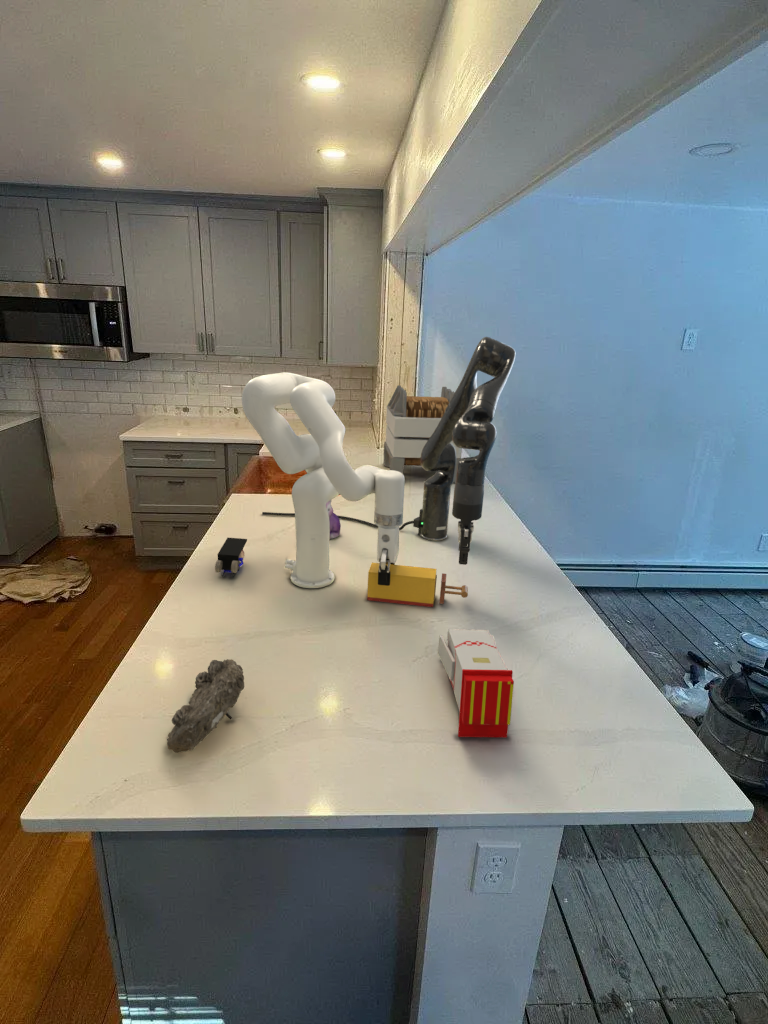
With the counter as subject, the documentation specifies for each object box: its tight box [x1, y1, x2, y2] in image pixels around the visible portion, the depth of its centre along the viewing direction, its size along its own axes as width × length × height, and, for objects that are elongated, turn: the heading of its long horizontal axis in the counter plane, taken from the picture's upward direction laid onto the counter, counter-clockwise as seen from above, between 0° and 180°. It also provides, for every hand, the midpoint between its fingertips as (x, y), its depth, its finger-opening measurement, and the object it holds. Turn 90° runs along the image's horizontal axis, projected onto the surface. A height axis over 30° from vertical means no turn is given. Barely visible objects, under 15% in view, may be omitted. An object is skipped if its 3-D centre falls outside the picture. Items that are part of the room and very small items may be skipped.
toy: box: [437, 628, 515, 738], centre depth 117 cm, size 12×13×30 cm
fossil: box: [166, 658, 245, 754], centre depth 106 cm, size 22×10×15 cm
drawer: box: [434, 573, 469, 605], centre depth 153 cm, size 23×5×7 cm, turn 82°
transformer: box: [383, 384, 463, 484], centre depth 268 cm, size 34×33×41 cm
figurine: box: [326, 499, 342, 539], centre depth 193 cm, size 9×10×15 cm
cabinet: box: [366, 562, 437, 608], centre depth 154 cm, size 18×6×8 cm, turn 82°
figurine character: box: [214, 537, 248, 578], centre depth 166 cm, size 7×8×15 cm
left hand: (386, 576), depth 154 cm, fingers open, 9 cm apart
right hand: (462, 557), depth 150 cm, fingers open, 8 cm apart
